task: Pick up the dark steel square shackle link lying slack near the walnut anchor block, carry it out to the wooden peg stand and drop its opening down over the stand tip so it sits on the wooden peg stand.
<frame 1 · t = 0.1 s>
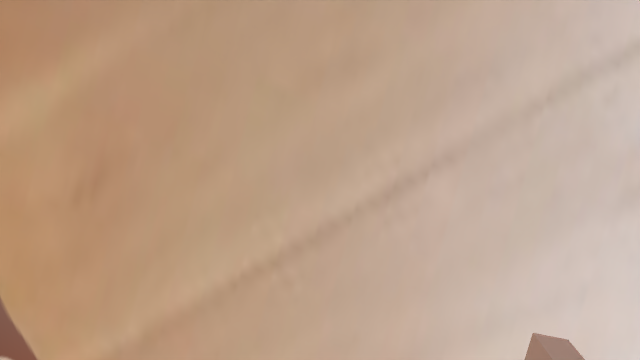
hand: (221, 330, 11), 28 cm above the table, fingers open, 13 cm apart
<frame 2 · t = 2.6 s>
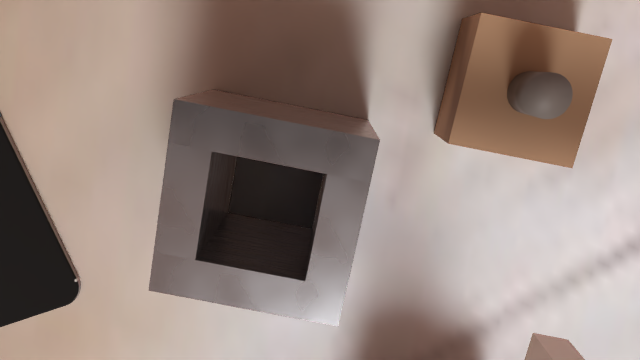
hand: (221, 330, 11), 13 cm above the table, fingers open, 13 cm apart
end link: (277, 179, 24), on the table
anchor block: (503, 88, 23), on the table
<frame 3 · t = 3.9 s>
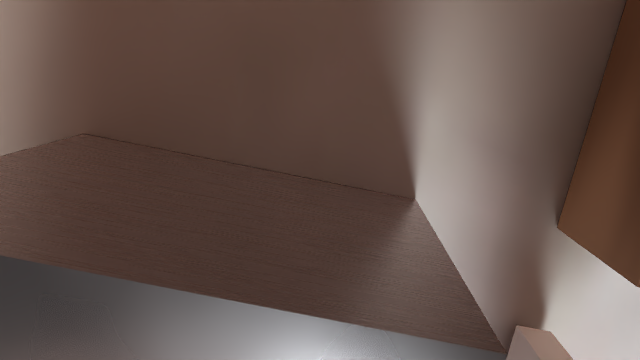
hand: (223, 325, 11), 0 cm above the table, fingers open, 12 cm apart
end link: (224, 319, 12), on the table
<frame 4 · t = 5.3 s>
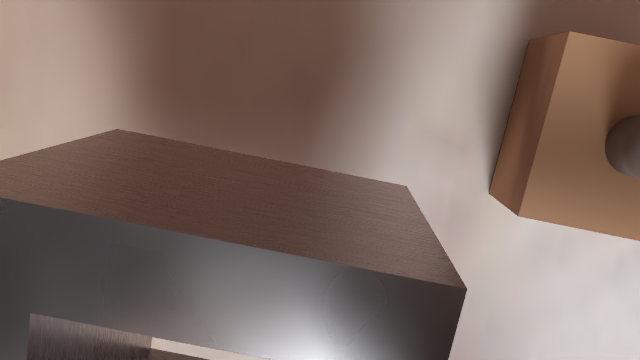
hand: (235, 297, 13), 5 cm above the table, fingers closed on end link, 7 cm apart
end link: (238, 292, 13), point 5 cm above the table, touching gripper
anchor block: (585, 134, 17), on the table
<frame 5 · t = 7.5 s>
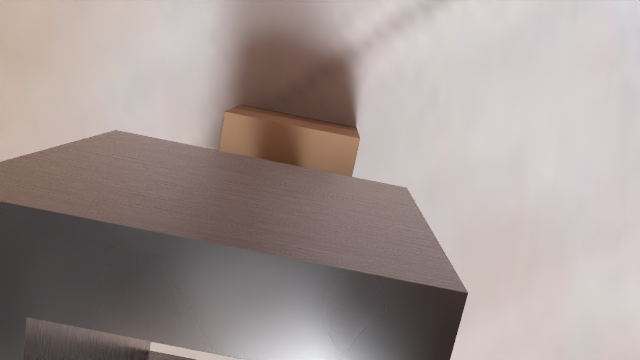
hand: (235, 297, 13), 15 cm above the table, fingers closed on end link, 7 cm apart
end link: (237, 294, 13), point 15 cm above the table, touching gripper
wooden peg stand: (288, 173, 27), on the table
when the fingers open (5 cm above the table, at t = 9.6 s): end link stays where it is, resting on wooden peg stand.
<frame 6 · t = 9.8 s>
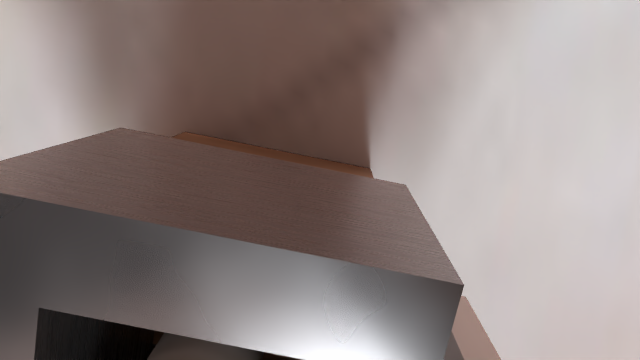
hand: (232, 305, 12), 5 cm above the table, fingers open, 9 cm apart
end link: (239, 289, 13), point 4 cm above the table, touching wooden peg stand
wooden peg stand: (261, 238, 17), on the table
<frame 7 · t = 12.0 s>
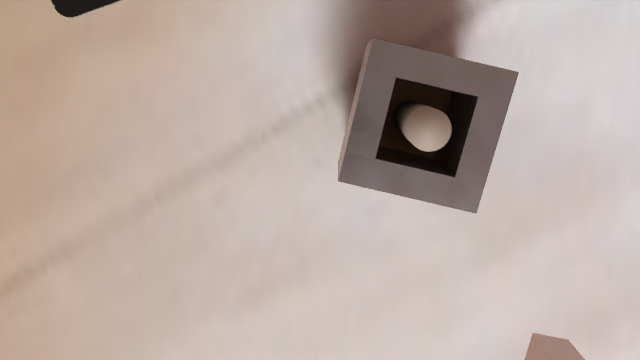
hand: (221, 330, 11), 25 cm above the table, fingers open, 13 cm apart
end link: (409, 118, 31), point 4 cm above the table, touching wooden peg stand
wooden peg stand: (401, 112, 35), on the table
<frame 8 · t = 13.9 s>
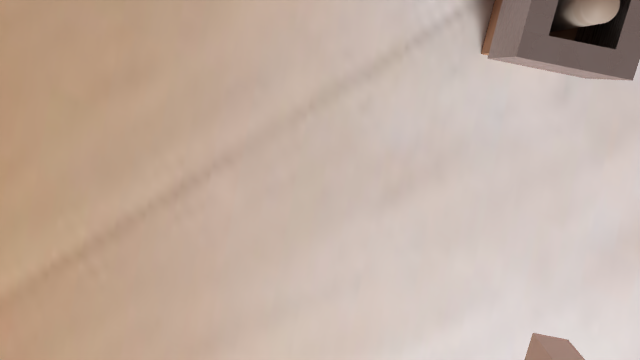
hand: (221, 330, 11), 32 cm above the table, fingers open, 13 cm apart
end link: (550, 17, 36), point 4 cm above the table, touching wooden peg stand
wooden peg stand: (530, 21, 40), on the table
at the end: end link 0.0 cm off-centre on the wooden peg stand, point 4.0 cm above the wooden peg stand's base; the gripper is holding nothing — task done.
